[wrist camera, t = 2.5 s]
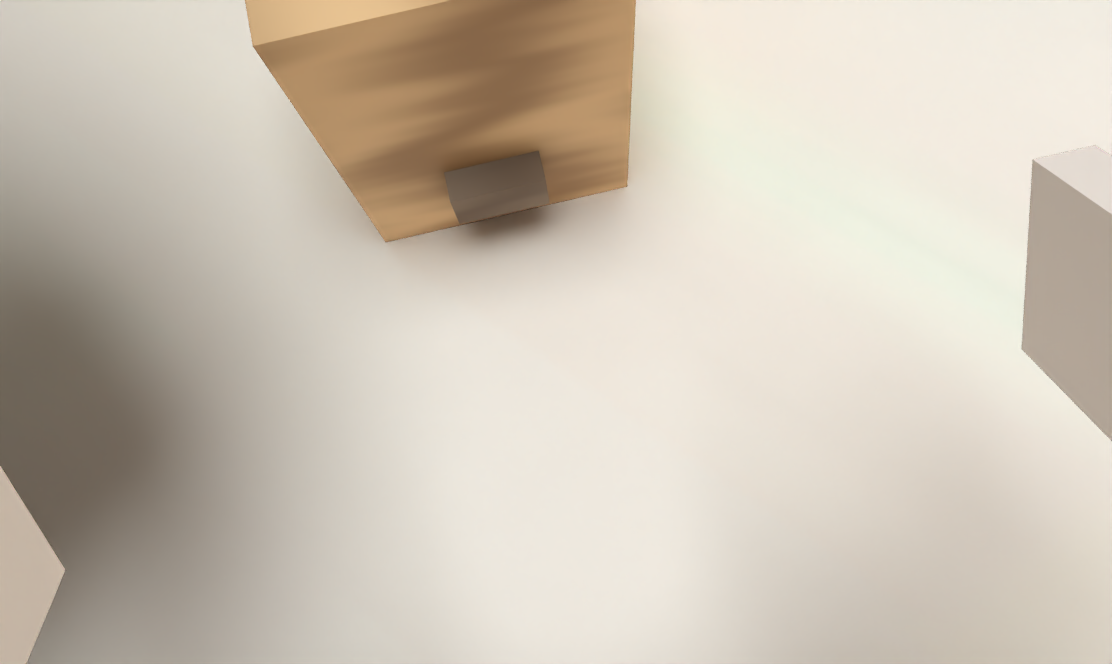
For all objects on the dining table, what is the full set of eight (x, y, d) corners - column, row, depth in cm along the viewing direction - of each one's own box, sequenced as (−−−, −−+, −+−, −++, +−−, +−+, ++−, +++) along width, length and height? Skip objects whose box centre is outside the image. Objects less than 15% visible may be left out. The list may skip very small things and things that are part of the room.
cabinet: (391, 268, 28) (259, 86, 18) (349, 55, 30) (205, -231, 19) (633, 212, 28) (648, -4, 18) (579, 2, 30) (562, -313, 19)
